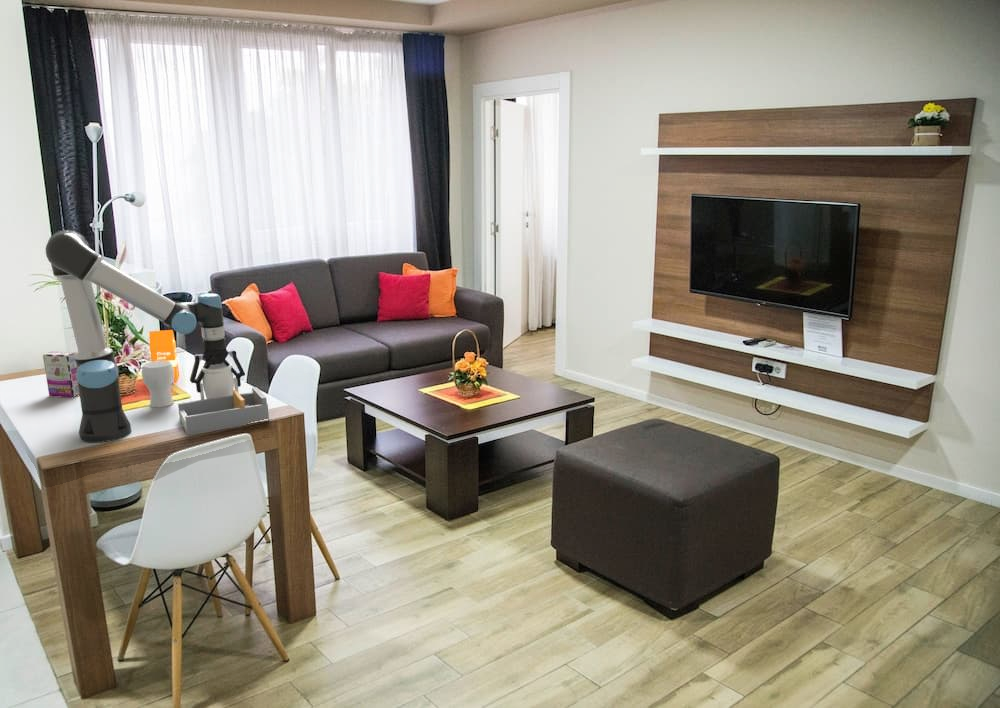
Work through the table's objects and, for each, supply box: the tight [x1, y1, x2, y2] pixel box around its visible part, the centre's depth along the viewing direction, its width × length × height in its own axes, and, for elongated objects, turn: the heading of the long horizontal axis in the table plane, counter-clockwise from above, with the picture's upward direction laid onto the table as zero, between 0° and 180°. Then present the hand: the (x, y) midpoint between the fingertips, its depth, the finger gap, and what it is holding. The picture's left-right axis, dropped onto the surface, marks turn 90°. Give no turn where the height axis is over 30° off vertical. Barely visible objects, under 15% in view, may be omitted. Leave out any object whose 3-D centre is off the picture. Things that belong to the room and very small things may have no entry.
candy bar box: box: [42, 351, 80, 398], centre depth 304 cm, size 11×5×16 cm, turn 76°
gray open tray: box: [177, 386, 270, 436], centre depth 274 cm, size 26×17×8 cm, turn 119°
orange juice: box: [148, 329, 180, 382], centre depth 323 cm, size 8×9×20 cm
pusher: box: [232, 389, 249, 408], centre depth 277 cm, size 4×14×7 cm, turn 29°
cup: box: [141, 361, 174, 408], centre depth 292 cm, size 11×11×15 cm
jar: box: [200, 362, 235, 399], centre depth 288 cm, size 11×10×15 cm
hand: (220, 398), depth 289 cm, fingers open, 11 cm apart
